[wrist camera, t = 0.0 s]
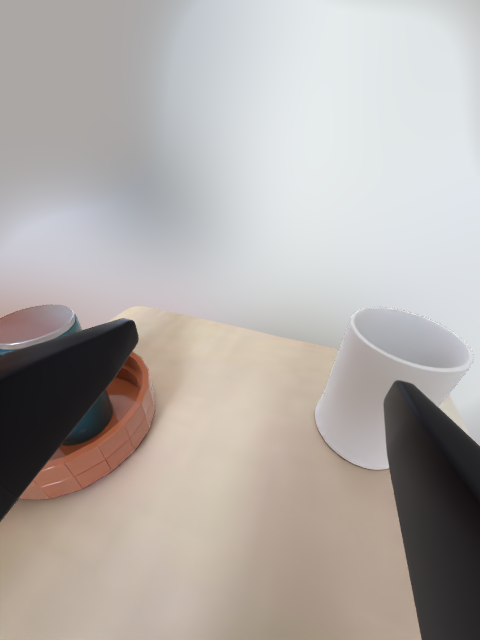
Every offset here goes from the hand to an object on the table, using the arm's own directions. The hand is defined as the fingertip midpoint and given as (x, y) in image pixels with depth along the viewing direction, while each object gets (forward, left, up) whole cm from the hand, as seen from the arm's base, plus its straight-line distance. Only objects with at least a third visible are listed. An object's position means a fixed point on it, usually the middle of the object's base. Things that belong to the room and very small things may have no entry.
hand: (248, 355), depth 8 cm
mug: (+13, -10, -17) cm, 23 cm away
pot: (+3, +16, -17) cm, 24 cm away
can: (+3, +16, -16) cm, 23 cm away
